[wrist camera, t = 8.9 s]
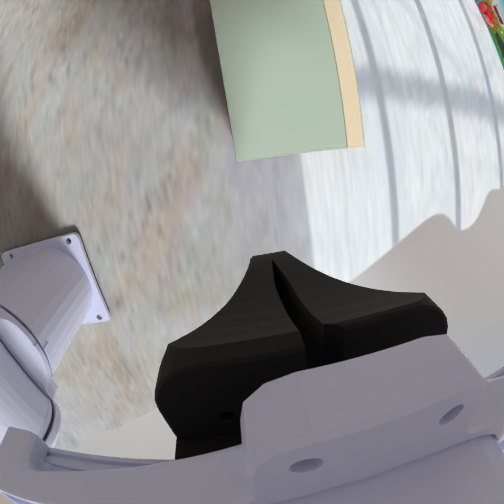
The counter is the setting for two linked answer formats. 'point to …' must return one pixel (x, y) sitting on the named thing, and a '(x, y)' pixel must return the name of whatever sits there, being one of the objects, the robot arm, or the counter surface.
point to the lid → (287, 76)
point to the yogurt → (494, 22)
